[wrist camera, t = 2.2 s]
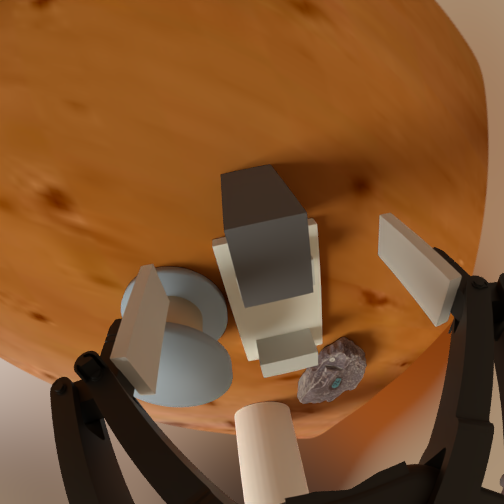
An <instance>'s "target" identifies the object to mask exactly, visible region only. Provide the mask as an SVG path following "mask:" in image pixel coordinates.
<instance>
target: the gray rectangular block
mask: <svg viewBox="0 0 504 504" xmlns="http://www.w3.org/2000/svg"><path fill="white" fill-rule="evenodd" d="M221 190H222V207H223V223H224V232H225V236H226V240H227V244H228V248H229V251H230V255H231V259H232V263H233V266H234V270H235V274H236V278H237V281H238V285H239V289H240V292H241V296H242V300H243V303H244V307H245V308H248V307H253V306H257V305H262V304H266V303H271V302H275V301H280V300H284V299H288V298H292V297H297V296H301V295H305V294H309V293H313V277H312V264H311V251H310V240H309V229H308V219H307V212H306V211H305V209H304V208H303V207H302V205H301V204H300V203H299V201H298V200H297V199H296V197H295V196H294V195H293V193H292V192H291V191H290V189H289V188H288V187H287V185H286V184H285V183H284V181H283V180H282V179H281V177H280V176H279V175H278V174H277V172H276V171H275V170H274V168H273V167H272V166H271V165H270V164H269V165H263V166H258V167H253V168H249V169H244V170H239V171H234V172H230V173H225V174H221Z"/></svg>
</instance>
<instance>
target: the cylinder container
mask: <svg viewBox="0 0 504 504" xmlns="http://www.w3.org/2000/svg"><path fill="white" fill-rule="evenodd" d="M235 426H236V435H237V444H238V453H239V462H240V470H241V477H242V486H243V494H244V502H245V504H281V503H283V502H285V498H289V497H294V496H299V495H304V494H308V493H309V491H308V487H307V482H306V478H305V474H304V469H303V465H302V461H301V456H300V452H299V448H298V444H297V439H296V435H295V431H294V426H293V422H292V418H291V413H290V409H289V407H288V406H287V405H286V404H284V403H280V402H260V403H255V404H251V405H248V406H245V407H243V408H241V409H240V410H238V411H237V412H236V413H235Z"/></svg>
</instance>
